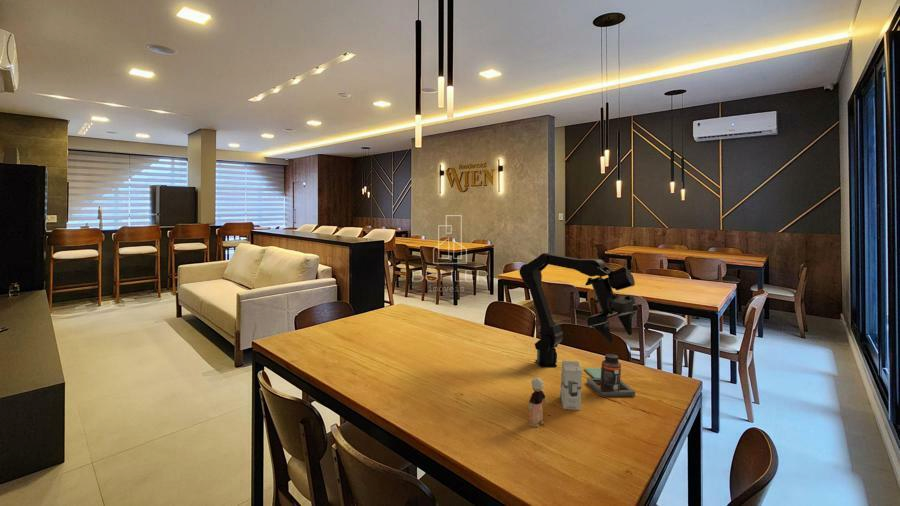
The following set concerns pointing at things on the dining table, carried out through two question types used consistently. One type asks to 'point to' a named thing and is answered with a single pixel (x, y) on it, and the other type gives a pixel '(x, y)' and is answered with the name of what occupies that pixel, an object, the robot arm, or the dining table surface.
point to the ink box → (571, 385)
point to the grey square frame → (610, 393)
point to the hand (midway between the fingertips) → (621, 338)
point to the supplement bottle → (610, 373)
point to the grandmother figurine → (536, 403)
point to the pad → (594, 372)
